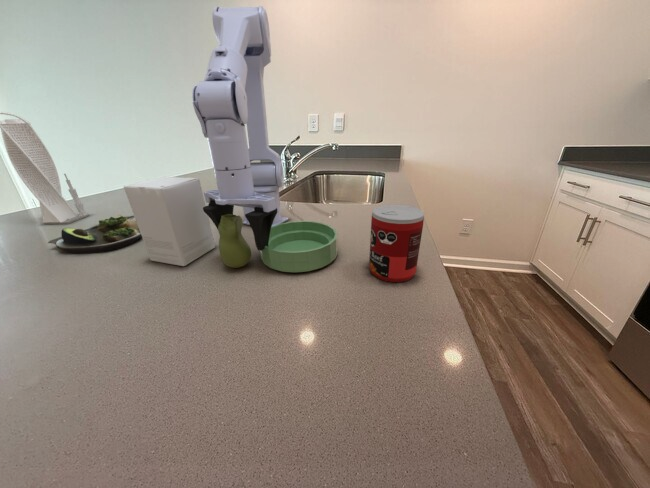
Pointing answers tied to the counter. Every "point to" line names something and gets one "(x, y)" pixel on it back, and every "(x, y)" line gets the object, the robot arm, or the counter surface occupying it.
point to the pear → (233, 242)
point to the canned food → (395, 242)
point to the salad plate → (99, 236)
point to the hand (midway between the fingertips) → (245, 243)
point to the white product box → (171, 219)
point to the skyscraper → (39, 171)
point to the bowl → (300, 246)
